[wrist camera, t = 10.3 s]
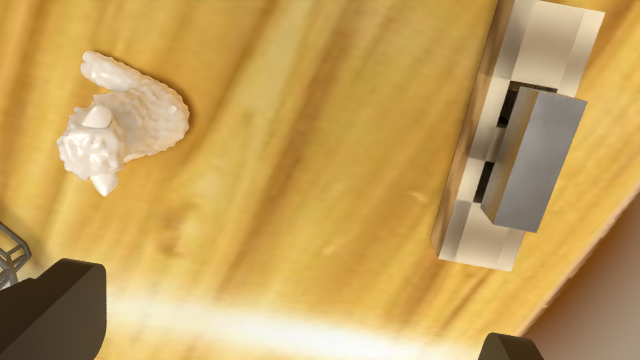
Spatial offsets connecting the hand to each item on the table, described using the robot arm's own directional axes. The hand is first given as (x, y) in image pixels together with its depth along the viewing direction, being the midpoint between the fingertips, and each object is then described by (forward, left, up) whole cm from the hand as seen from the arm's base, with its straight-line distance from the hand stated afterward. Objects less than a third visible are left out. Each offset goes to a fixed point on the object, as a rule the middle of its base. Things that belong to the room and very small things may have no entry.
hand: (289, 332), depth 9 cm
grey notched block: (0, +14, -28) cm, 31 cm away
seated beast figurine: (+3, -15, -28) cm, 32 cm away
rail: (0, +14, -28) cm, 31 cm away
